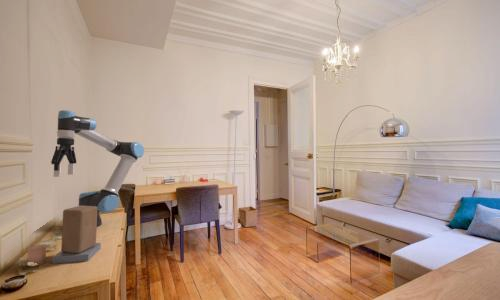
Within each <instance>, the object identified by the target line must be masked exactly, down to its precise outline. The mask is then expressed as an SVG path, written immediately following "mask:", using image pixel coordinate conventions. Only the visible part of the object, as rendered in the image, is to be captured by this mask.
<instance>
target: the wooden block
mask: <svg viewBox="0 0 500 300" xmlns="http://www.w3.org/2000/svg"><path fill="white" fill-rule="evenodd" d="M61 224H62V226H61V250H60V251H62V252H67V253H81V252H83V251H85V250H88V249H90V248H92V247H94V246H95V245H96V243H97V231H98V230H97V227H98V226H97V207H96V206H79V205H78V206H73V207H69V208H65V209H64V210H63V211H62V223H61Z"/></svg>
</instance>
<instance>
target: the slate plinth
mask: <svg viewBox="0 0 500 300" xmlns="http://www.w3.org/2000/svg"><path fill="white" fill-rule="evenodd" d="M101 246H102V244H101V242H96V245H95V246H94V247H92V248H90V249H88V250H85V251H83V252H81V253H67V252H62V251H61V250H60V251H59V252H58V253H56V254H55V255H53V256H52V258H51V259H52V261H51V262H52V265H53V264H54V265H55V264H68V263H79V262H88V261H90V260H91V259H92V258H93V257H94V256H95V255H96V254H97V253H98V252H99V251H100V250H101V249H102V248H101Z"/></svg>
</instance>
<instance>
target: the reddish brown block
mask: <svg viewBox="0 0 500 300" xmlns="http://www.w3.org/2000/svg"><path fill="white" fill-rule="evenodd" d="M46 256H47V245H46V244H39V245H32V246H31V247H28V248H27V260H26V263H27V262H34V263H37V264H39V265H38V266H40V265H43V264H45V263H46V261H47V259H46V258H47V257H46Z"/></svg>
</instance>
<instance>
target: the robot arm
mask: <svg viewBox="0 0 500 300" xmlns="http://www.w3.org/2000/svg"><path fill="white" fill-rule="evenodd" d="M96 128H97V120H95V119H94V118H90V117H84V116H83V117H82V116H77V115H76V112H74V111H72V110H65V109H64V110H60V111H58V115H57V132H56V133H57V139H56V146H55V151H54V153H53V155H52V158H51V161H50V164H51V165H53V178H56V177H58V178H60V177H61V169H62V166H61V163H62V161H63V159H64V157H66V159H67V161H68V163H67V175H72V176H73V175H74V174H75V164H77V156H76V153H75V146H74V145H75V136H76V135H78V136H80V137H82V138H84V139H85V140H87V141H89V142H91V143H93V144H96V145H98V146H100V147H102V148H105V150H106V151H108V152H109V153H112V154H114V155H116V156H117V157H120V159H119V161H118V163H117V165H116V167H115V169H114V170H113V172H112V174H111V176H110V178H109V180H108V181H107V183H106V184H105V186H104V188H101V189H100V190H96V191H85V192H81V193H80V194H79V195H78V206H96V207H97V227H100V226H101V225H103V224H102V223H103V221H102V217H101V215H100V213H101V214H104V213H105V214H109V213H111V212H114V211H115V210H117V207H119V203H120V201H119V200H120V199H119V197H120V195H119V191H120V189H121V187H122V185H123V183H124V182H125V180H126V177H127V175H128V173H129V171H130V169H131V168H132V165H133V163H137V161H138V159H139V158H142V157H143V156H144V153H145V148H144V146H143V144H141V142H137V141H132V142H131V141H119V140H116V139H111V138H109V137H108V136H105V135H104V134H103V133H100V132H98V131H97V130H96Z"/></svg>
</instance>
